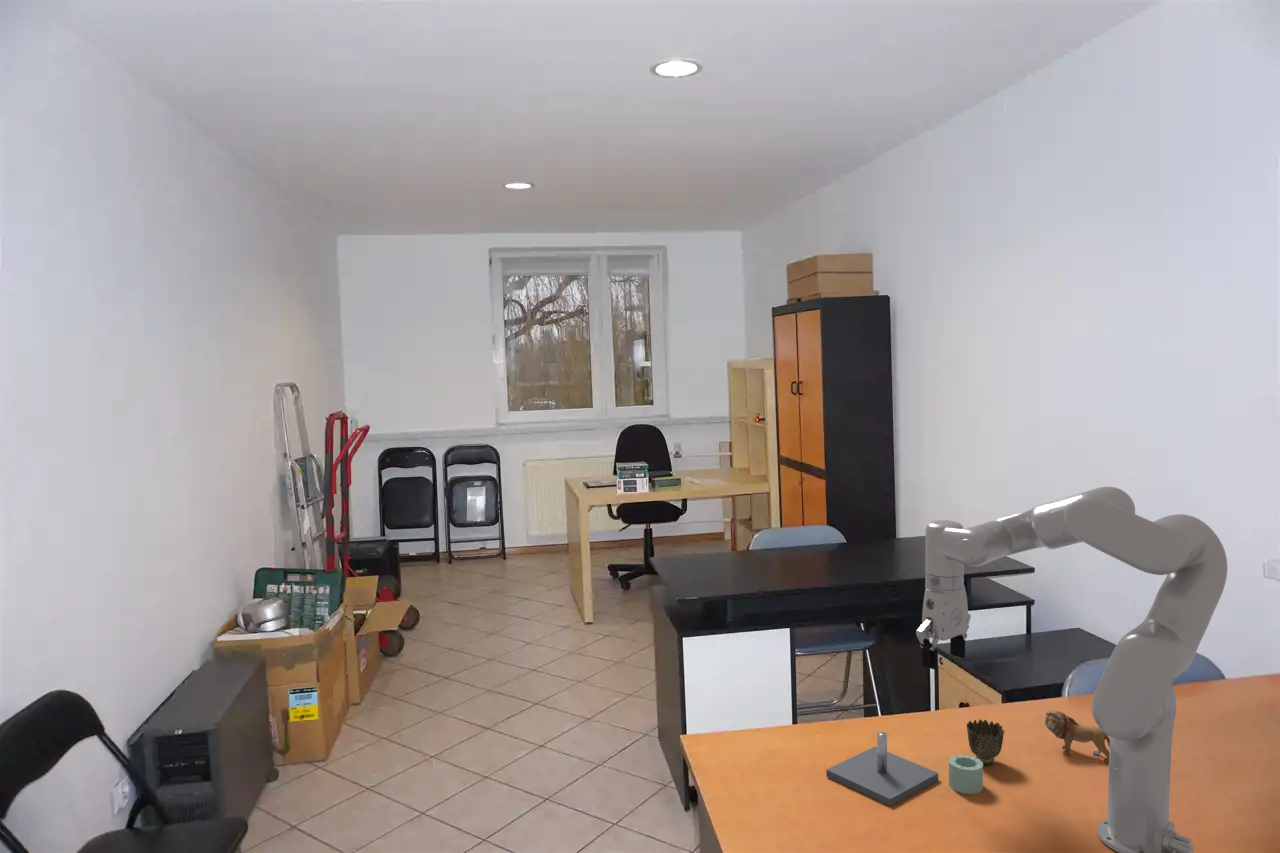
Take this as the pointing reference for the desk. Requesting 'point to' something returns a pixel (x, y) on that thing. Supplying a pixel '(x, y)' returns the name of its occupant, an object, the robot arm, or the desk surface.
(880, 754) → the rod
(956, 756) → the bead
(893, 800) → the board
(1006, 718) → the desk surface
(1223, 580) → the robot arm
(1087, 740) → the lion figurine
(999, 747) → the cup
